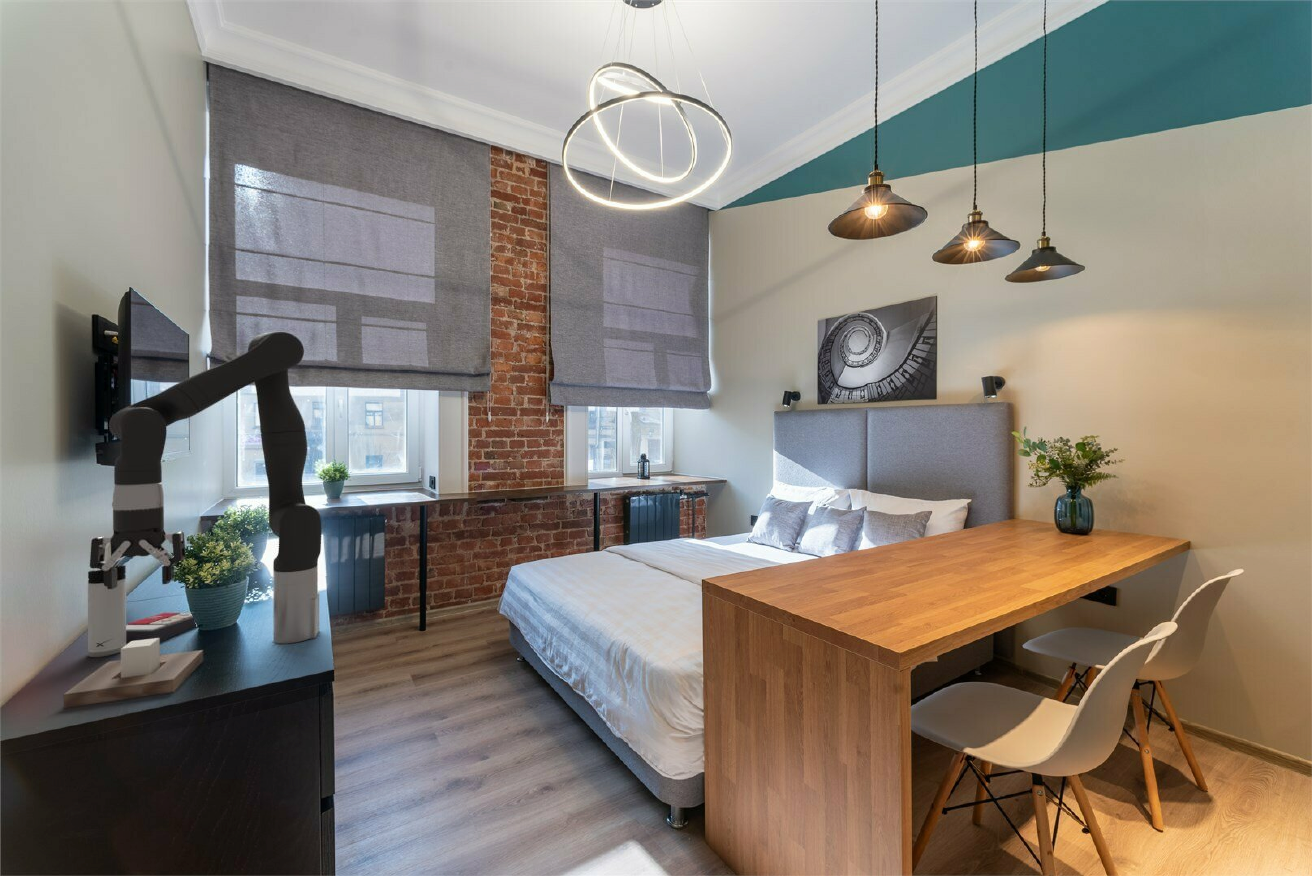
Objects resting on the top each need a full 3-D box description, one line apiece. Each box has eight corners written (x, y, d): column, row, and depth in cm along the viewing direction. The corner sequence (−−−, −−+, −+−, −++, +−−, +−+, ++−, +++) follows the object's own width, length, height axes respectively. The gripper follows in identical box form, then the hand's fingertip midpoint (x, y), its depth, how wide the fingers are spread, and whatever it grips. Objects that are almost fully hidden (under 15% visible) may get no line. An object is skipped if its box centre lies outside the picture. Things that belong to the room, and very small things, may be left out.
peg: (159, 676, 115) (159, 637, 115) (150, 685, 111) (149, 645, 111) (131, 679, 113) (131, 641, 113) (120, 689, 109) (120, 648, 109)
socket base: (203, 661, 122) (203, 649, 122) (173, 691, 108) (173, 679, 108) (108, 673, 116) (108, 661, 116) (63, 707, 101) (63, 694, 101)
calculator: (204, 611, 147) (152, 628, 132) (203, 627, 146) (151, 646, 131) (163, 611, 147) (106, 628, 132) (162, 627, 147) (105, 646, 132)
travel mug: (103, 658, 124) (102, 569, 124) (80, 656, 125) (80, 568, 125) (134, 648, 130) (134, 563, 130) (112, 646, 131) (112, 562, 131)
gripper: (189, 502, 118) (190, 577, 118) (102, 505, 112) (103, 585, 112) (175, 506, 111) (176, 586, 111) (81, 510, 105) (82, 594, 106)
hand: (139, 585), depth 112 cm, fingers open, 8 cm apart
